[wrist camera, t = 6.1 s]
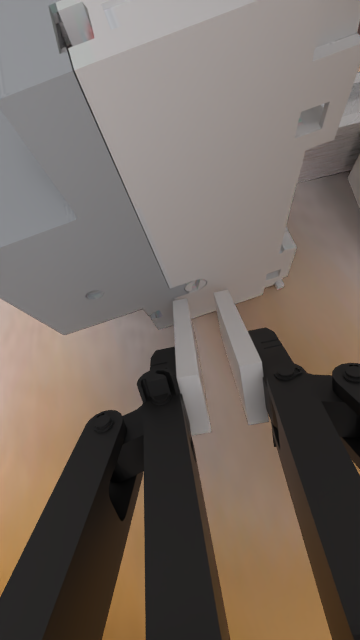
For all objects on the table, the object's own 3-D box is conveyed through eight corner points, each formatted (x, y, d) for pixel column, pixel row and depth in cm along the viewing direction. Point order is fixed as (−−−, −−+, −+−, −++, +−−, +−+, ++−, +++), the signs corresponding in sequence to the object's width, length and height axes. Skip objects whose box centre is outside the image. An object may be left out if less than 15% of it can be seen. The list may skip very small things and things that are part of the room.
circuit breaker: (51, 263, 23) (-222, 6, 9) (240, 196, 23) (252, -186, 9) (68, 360, 21) (-282, 205, 7) (283, 287, 20) (401, -55, 6)
